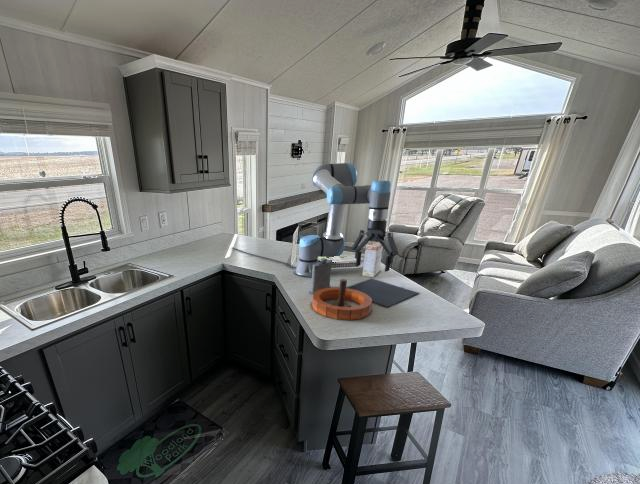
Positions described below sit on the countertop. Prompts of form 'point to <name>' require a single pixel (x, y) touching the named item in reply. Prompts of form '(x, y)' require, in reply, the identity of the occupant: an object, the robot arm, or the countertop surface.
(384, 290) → the mat
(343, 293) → the post
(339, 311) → the ring
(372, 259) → the coffeecake box
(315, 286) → the grey flat box
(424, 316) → the countertop surface
